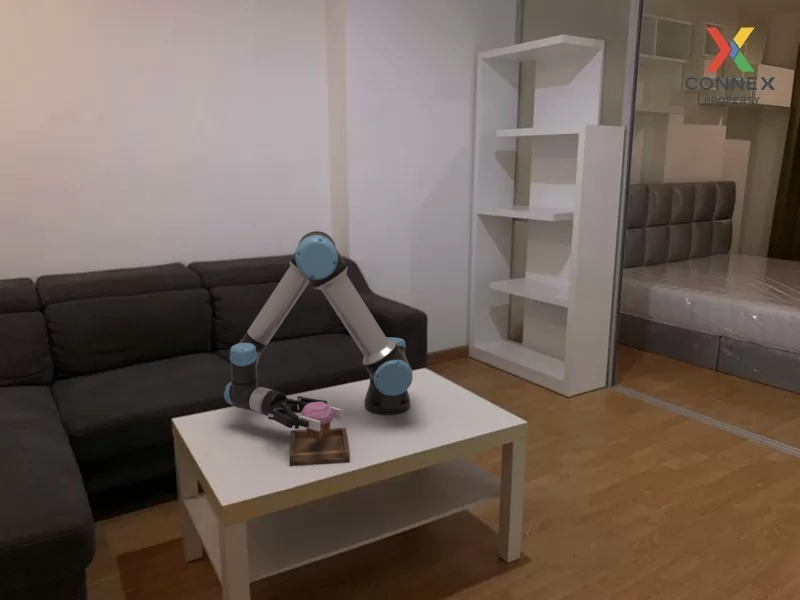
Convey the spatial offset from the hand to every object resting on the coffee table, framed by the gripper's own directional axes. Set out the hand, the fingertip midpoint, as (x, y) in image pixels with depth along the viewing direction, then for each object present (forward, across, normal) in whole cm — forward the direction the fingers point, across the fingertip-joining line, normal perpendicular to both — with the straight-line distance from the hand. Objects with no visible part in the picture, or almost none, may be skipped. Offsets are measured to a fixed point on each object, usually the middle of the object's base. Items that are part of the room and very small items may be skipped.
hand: (330, 420), depth 176 cm
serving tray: (-4, 0, -10) cm, 11 cm away
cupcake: (-5, 0, -6) cm, 8 cm away
